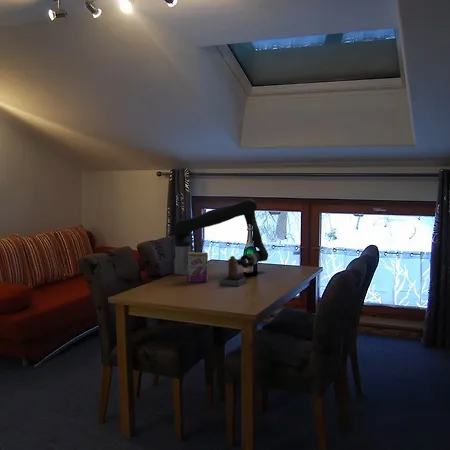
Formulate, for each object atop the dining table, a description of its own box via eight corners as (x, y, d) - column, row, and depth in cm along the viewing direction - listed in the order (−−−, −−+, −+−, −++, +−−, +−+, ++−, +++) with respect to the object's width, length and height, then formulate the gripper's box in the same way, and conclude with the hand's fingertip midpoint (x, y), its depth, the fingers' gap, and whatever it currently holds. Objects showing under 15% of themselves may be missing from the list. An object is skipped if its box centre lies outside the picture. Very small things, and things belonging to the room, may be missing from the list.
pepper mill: (227, 283, 286) (226, 256, 284) (230, 281, 290) (230, 255, 288) (235, 283, 283) (234, 256, 282) (238, 282, 288) (238, 255, 286)
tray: (220, 284, 285) (219, 279, 284) (227, 281, 293) (227, 276, 293) (238, 286, 280) (238, 281, 279) (245, 282, 289) (245, 277, 288)
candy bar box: (187, 282, 292) (186, 253, 290) (188, 280, 297) (188, 252, 295) (207, 282, 291) (206, 253, 289) (208, 280, 296) (207, 252, 294)
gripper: (237, 253, 308) (225, 257, 293) (259, 254, 301) (248, 259, 287) (237, 265, 308) (225, 270, 294) (259, 267, 302) (248, 272, 288)
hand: (236, 265), depth 290 cm, fingers open, 8 cm apart
